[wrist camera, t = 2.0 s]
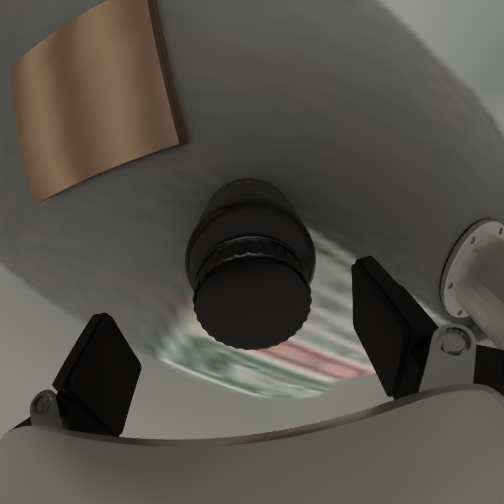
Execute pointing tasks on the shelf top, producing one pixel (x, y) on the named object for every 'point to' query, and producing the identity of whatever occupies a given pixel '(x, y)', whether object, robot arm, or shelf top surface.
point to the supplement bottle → (250, 266)
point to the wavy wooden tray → (95, 97)
